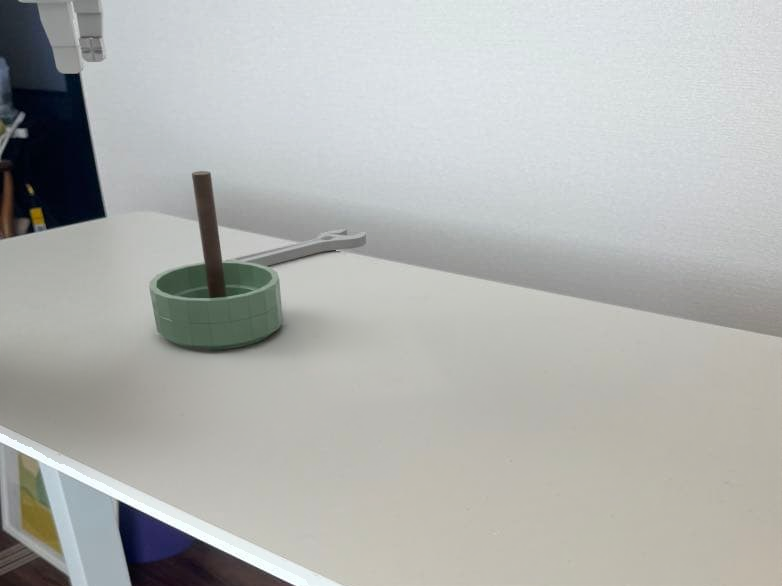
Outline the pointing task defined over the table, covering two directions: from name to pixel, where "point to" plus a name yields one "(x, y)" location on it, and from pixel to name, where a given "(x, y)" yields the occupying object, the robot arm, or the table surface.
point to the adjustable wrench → (306, 248)
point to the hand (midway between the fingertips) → (84, 66)
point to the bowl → (217, 306)
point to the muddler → (209, 233)
